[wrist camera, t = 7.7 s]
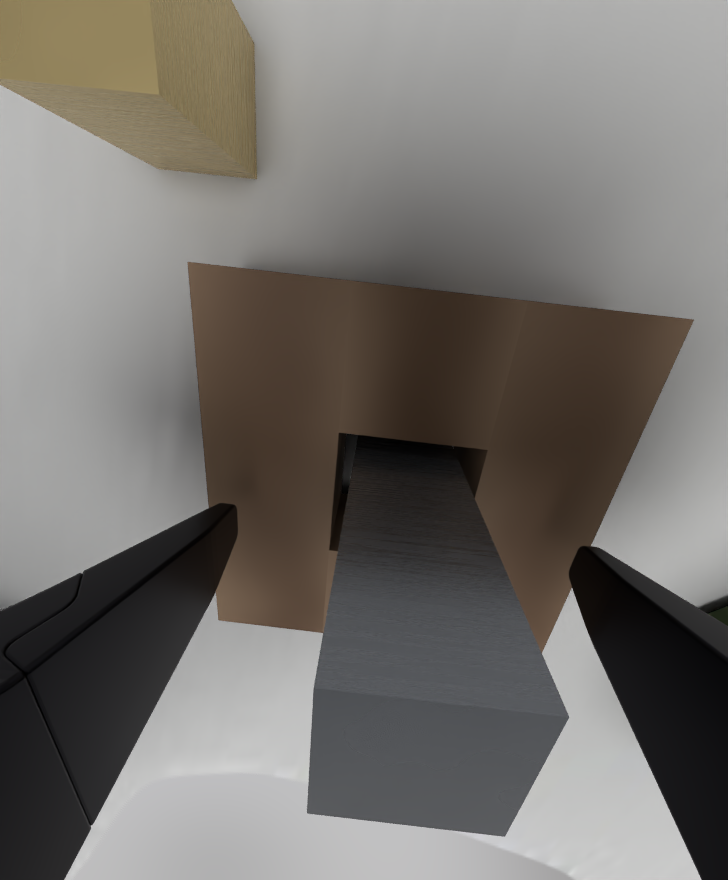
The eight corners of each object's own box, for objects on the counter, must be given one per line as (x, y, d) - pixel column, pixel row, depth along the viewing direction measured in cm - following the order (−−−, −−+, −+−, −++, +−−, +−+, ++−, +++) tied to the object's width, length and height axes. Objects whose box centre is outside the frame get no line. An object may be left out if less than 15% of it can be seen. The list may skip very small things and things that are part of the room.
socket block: (250, 555, 16) (218, 620, 13) (242, 269, 12) (187, 261, 8) (508, 585, 16) (539, 658, 13) (606, 310, 11) (693, 319, 8)
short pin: (158, 168, 11) (-15, 76, 6) (143, 32, 9) (-87, -213, 5) (256, 178, 11) (158, 94, 6) (254, 43, 9) (129, -193, 5)
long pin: (355, 481, 14) (306, 813, 5) (362, 412, 13) (313, 687, 4) (428, 489, 14) (504, 836, 5) (441, 421, 13) (568, 716, 4)
